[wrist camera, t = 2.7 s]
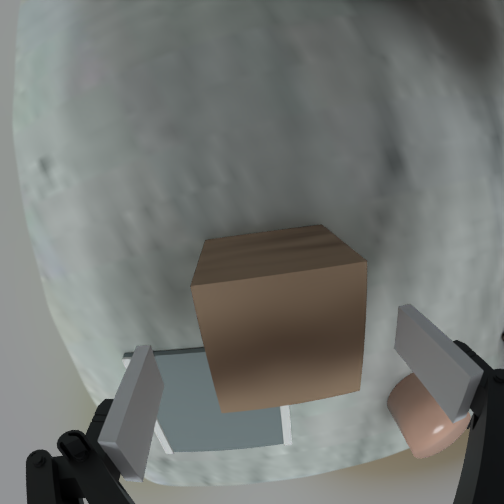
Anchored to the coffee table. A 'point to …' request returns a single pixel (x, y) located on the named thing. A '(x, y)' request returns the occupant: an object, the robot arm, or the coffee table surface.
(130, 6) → the coffee table surface
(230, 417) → the mat
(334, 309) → the cube
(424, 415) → the pink cylinder
